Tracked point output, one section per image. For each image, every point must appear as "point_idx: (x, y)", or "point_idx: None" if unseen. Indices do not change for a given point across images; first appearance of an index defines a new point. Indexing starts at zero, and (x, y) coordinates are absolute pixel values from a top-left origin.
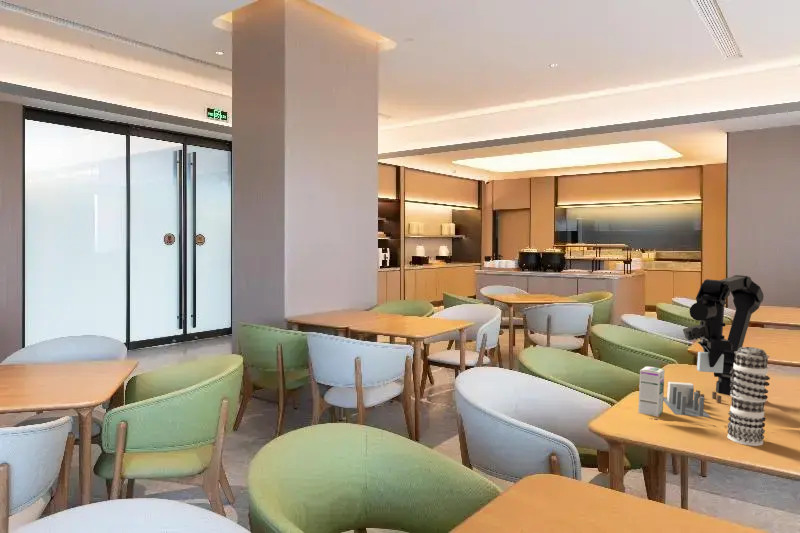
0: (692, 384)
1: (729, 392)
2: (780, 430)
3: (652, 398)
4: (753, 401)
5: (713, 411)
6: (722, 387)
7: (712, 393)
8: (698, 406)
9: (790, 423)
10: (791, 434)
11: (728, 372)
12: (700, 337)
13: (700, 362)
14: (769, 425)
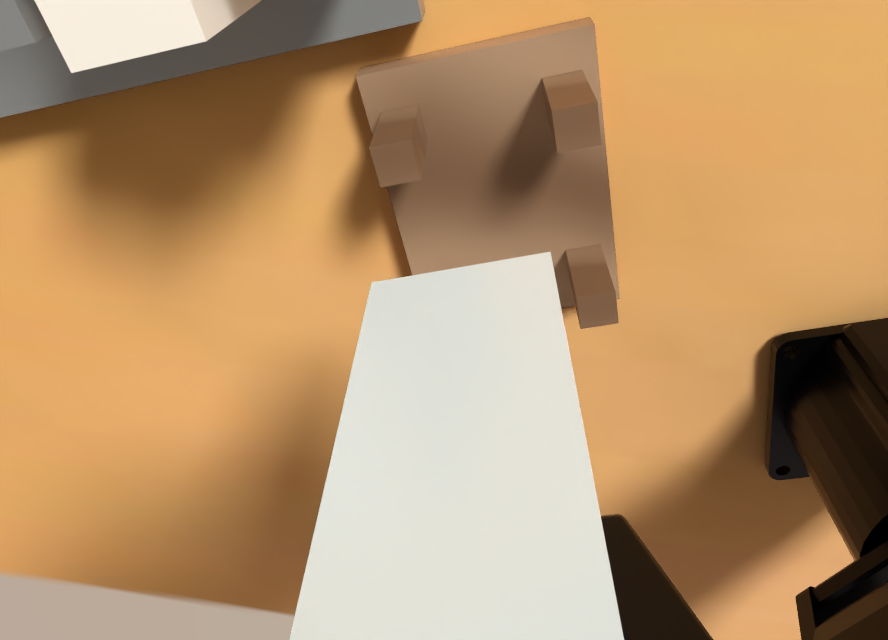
0: (122, 55)
1: (807, 428)
2: (49, 539)
3: None
4: None
5: (213, 208)
6: (868, 406)
7: (602, 281)
8: (121, 70)
9: (261, 601)
10: (14, 569)
11: (864, 616)
12: None
13: (344, 450)
14: (115, 509)
